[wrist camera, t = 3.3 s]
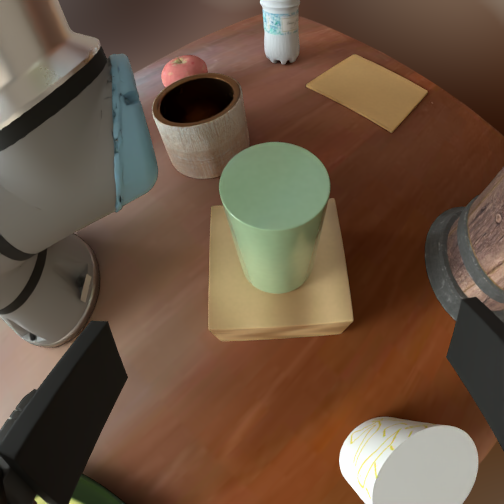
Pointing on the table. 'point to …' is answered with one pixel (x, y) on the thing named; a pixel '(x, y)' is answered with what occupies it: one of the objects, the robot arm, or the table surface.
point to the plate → (89, 493)
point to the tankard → (469, 252)
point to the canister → (275, 212)
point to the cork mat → (370, 91)
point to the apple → (182, 68)
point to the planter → (202, 123)
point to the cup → (409, 462)
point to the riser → (277, 305)
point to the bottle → (281, 29)
